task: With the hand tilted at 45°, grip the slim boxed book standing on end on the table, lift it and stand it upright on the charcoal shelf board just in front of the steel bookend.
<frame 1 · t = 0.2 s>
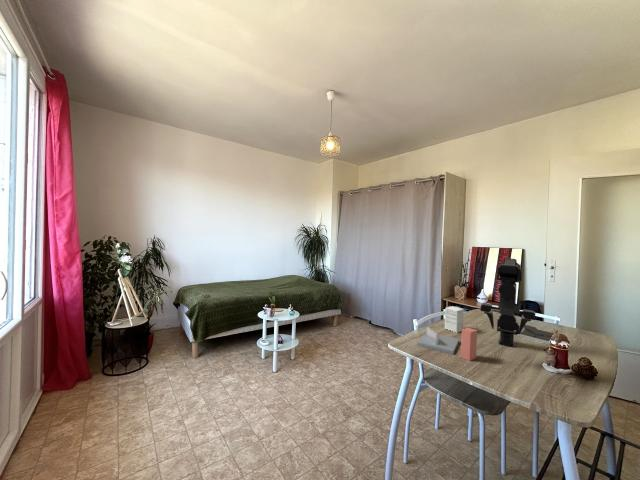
hand: (505, 331, 113), 14 cm above the table, tool pointing down, fingers open, 9 cm apart
supplement box: (453, 330, 154), on the table
picture frame: (537, 337, 148), on the table
boxed book: (468, 357, 119), on the table
bookend: (432, 343, 134), resting on shelf board
shelf board: (438, 343, 134), on the table
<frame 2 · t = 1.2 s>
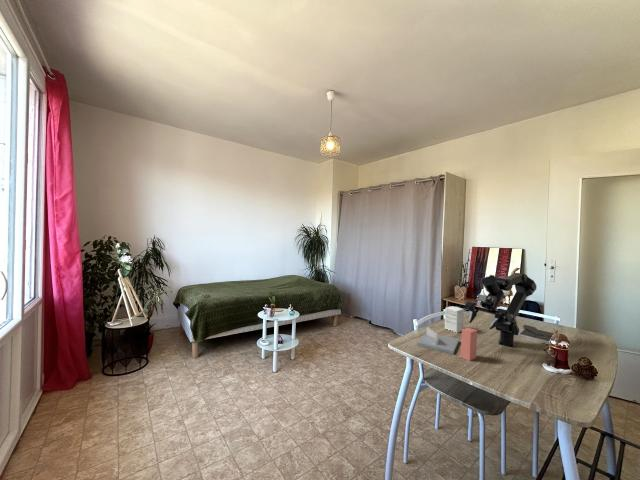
hand: (479, 325, 123), 13 cm above the table, tool tilted 45°, fingers open, 9 cm apart
nothing on the table moved.
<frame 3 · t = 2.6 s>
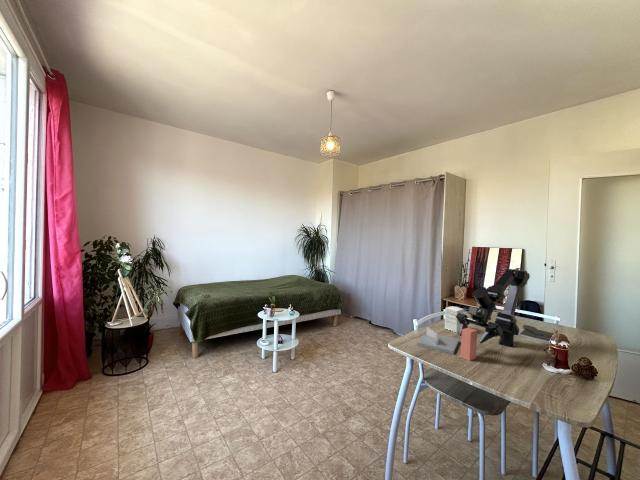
hand: (469, 339, 119), 8 cm above the table, tool tilted 45°, fingers open, 9 cm apart
nothing on the table moved.
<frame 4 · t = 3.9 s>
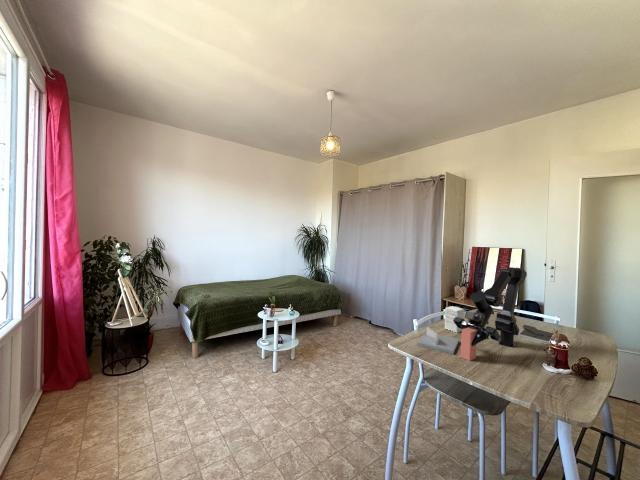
hand: (467, 343, 118), 7 cm above the table, tool tilted 45°, fingers closed on boxed book, 4 cm apart
boxed book: (468, 357, 119), on the table, touching gripper
everything else where it was.
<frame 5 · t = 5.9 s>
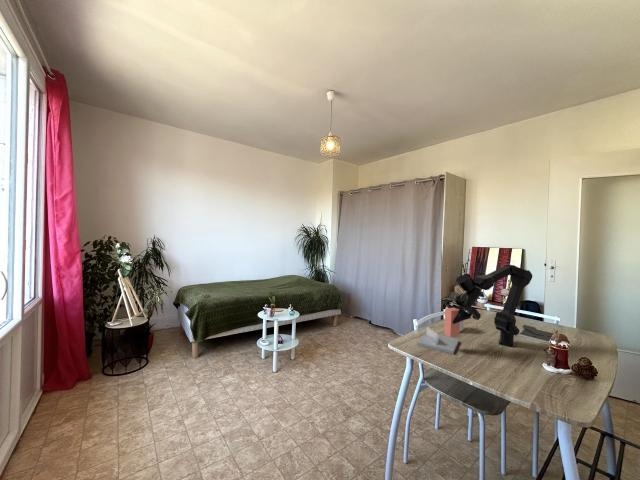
hand: (449, 321, 126), 14 cm above the table, tool tilted 45°, fingers closed on boxed book, 4 cm apart
boxed book: (451, 335, 127), point 7 cm above the table, touching gripper
everything else where it was.
when the fingers open (9 cm above the table, at t = 7.8 s): boxed book stays where it is, resting on shelf board.
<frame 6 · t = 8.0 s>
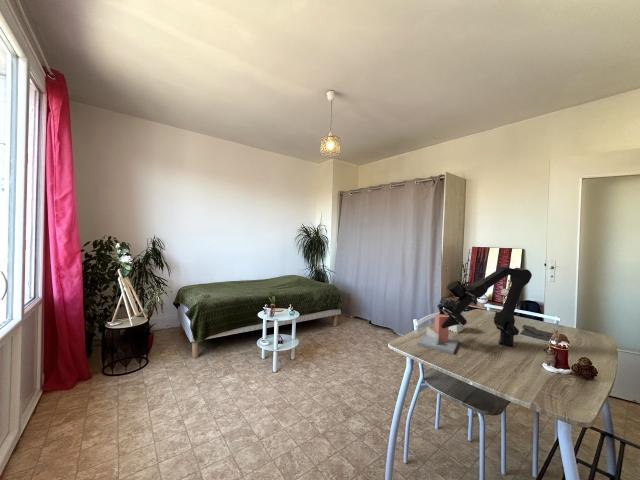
hand: (439, 325, 134), 9 cm above the table, tool tilted 45°, fingers open, 6 cm apart
boxed book: (441, 340, 134), point 1 cm above the table, touching shelf board
everything else where it was.
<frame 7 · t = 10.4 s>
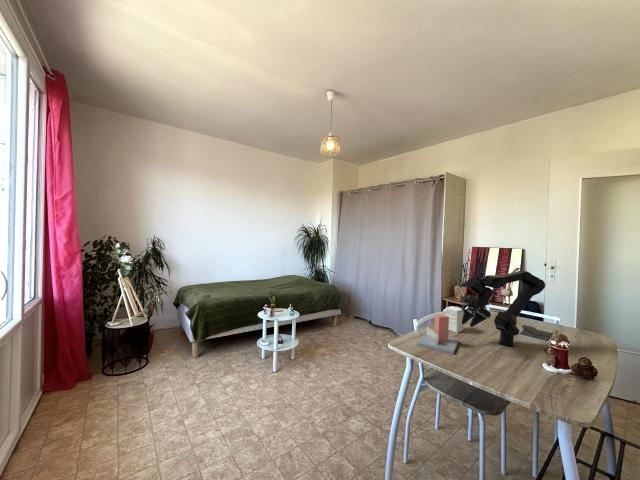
hand: (466, 325, 131), 11 cm above the table, tool tilted 35°, fingers open, 9 cm apart
nothing on the table moved.
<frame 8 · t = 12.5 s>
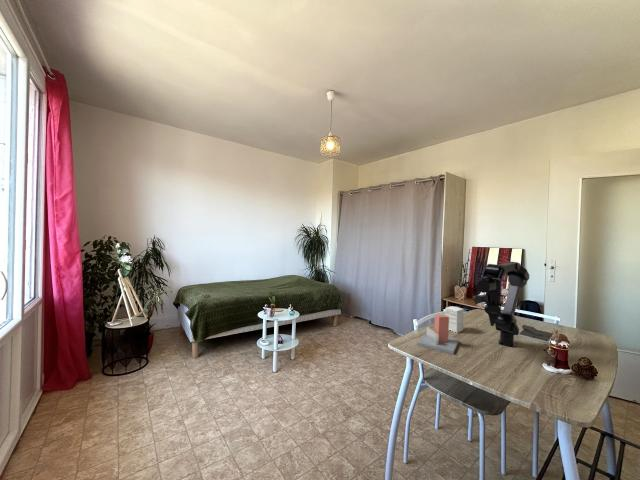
hand: (492, 323, 128), 13 cm above the table, tool pointing down, fingers open, 9 cm apart
nothing on the table moved.
at the end: boxed book inside the target area on the shelf board (0.5 cm from its centre), point 1.5 cm above the shelf board's base; boxed book 4.5 cm from the bookend (horizontally); boxed book tilted 0° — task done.
